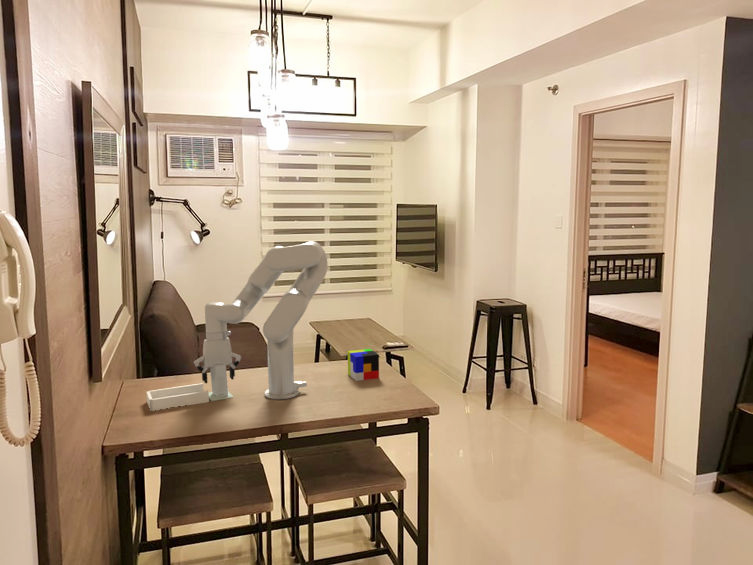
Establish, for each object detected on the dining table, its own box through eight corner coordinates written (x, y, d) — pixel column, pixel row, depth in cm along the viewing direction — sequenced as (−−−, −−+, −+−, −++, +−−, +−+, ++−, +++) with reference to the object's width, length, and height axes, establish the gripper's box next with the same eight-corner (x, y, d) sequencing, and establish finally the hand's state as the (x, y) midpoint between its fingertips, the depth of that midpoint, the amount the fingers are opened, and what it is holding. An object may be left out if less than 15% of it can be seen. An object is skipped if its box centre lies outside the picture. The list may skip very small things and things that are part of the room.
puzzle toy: (355, 381, 238) (355, 357, 236) (348, 374, 247) (347, 351, 246) (379, 378, 241) (378, 354, 240) (370, 371, 251) (370, 348, 249)
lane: (203, 393, 224) (202, 383, 224) (209, 401, 215) (208, 391, 214) (146, 401, 215) (146, 391, 215) (150, 411, 206) (149, 400, 205)
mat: (227, 389, 228) (227, 389, 228) (233, 397, 219) (233, 396, 219) (205, 393, 224) (205, 392, 224) (211, 401, 215) (211, 400, 215)
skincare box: (228, 395, 220) (227, 364, 219) (217, 398, 218) (215, 366, 216) (222, 391, 225) (220, 360, 224) (210, 393, 223) (209, 362, 221)
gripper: (237, 331, 226) (239, 374, 228) (190, 336, 218) (193, 381, 220) (242, 335, 219) (244, 379, 221) (194, 340, 211) (196, 386, 214)
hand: (218, 380), depth 221 cm, fingers open, 9 cm apart
